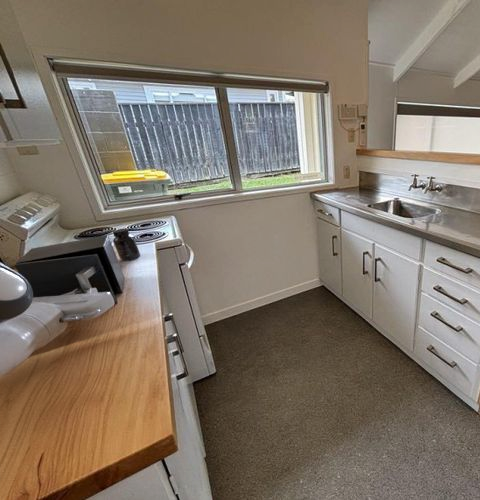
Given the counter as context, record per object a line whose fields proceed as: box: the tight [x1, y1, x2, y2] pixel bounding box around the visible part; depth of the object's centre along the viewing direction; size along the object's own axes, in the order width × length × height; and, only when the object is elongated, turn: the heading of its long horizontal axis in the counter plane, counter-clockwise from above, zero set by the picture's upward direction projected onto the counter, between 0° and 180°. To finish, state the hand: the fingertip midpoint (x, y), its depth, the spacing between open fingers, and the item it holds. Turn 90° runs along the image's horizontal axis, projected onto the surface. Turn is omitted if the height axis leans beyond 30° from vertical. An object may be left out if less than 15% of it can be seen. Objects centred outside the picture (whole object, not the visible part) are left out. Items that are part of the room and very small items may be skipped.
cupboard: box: [15, 234, 126, 296], centre depth 86 cm, size 13×18×16 cm
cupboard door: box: [14, 254, 118, 305], centre depth 75 cm, size 7×18×16 cm, turn 105°
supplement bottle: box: [112, 228, 141, 262], centre depth 113 cm, size 7×7×12 cm
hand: (87, 290), depth 74 cm, fingers closed, pressing on cupboard door
